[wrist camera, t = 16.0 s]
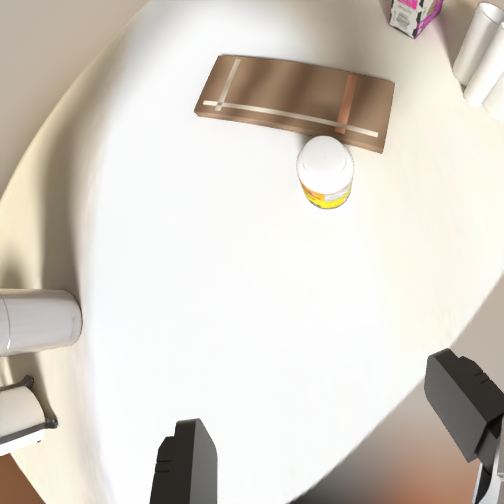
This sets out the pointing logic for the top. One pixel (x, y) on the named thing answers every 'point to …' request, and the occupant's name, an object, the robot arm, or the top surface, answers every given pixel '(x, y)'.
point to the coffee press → (21, 417)
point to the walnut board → (299, 99)
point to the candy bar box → (413, 15)
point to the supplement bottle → (325, 172)
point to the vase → (483, 61)
